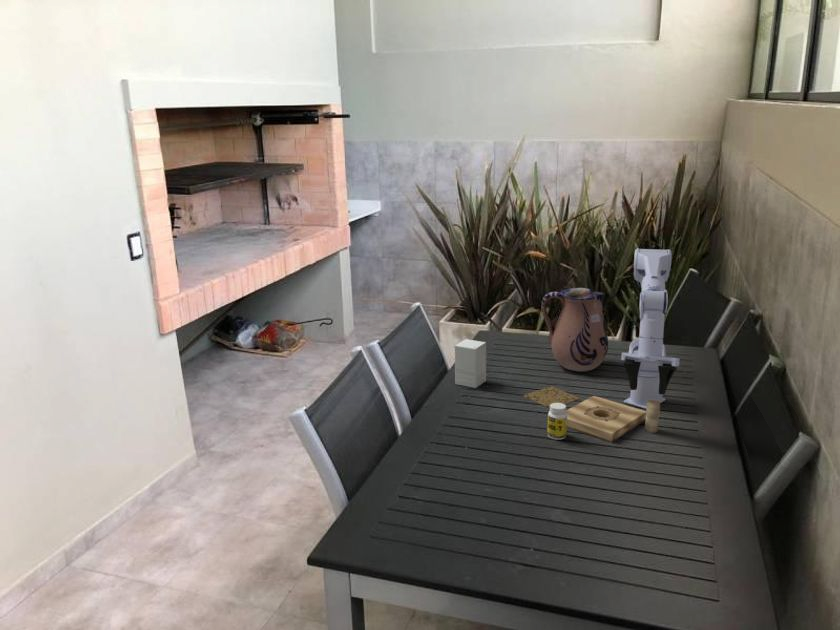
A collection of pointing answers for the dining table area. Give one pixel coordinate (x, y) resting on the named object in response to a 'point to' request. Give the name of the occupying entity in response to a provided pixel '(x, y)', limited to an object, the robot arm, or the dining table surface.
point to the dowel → (652, 416)
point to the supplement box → (470, 363)
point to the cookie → (551, 396)
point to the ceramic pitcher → (578, 329)
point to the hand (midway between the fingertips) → (647, 391)
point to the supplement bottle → (557, 421)
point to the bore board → (604, 418)
